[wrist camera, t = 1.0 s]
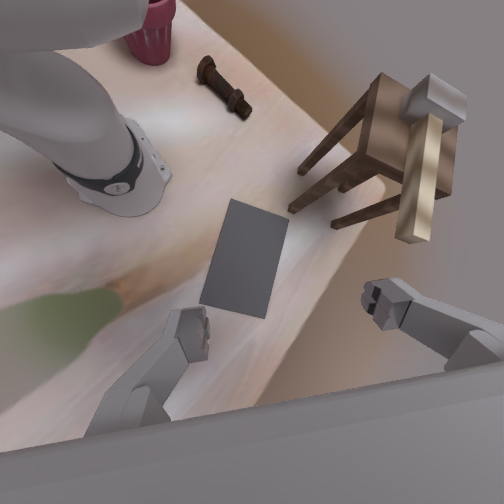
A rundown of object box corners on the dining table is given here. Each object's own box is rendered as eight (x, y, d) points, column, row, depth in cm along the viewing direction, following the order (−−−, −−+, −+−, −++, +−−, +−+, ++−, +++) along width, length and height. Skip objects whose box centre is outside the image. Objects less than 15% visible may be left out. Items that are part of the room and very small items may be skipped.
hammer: (421, 248, 27) (454, 245, 23) (381, 233, 25) (409, 226, 22) (437, 116, 30) (467, 96, 27) (403, 96, 29) (430, 72, 25)
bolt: (243, 126, 53) (201, 83, 50) (256, 109, 51) (212, 65, 49) (241, 118, 47) (193, 70, 45) (254, 100, 46) (206, 49, 44)
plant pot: (193, 58, 49) (189, -14, 37) (151, 86, 46) (131, 17, 33) (150, 12, 48) (130, -79, 35) (103, 38, 44) (63, -52, 32)
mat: (264, 318, 47) (264, 318, 46) (199, 302, 43) (199, 303, 43) (288, 220, 51) (289, 219, 50) (230, 199, 48) (231, 198, 47)
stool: (337, 230, 54) (451, 195, 29) (286, 212, 51) (366, 154, 26) (345, 186, 57) (458, 118, 31) (298, 166, 53) (381, 72, 28)
